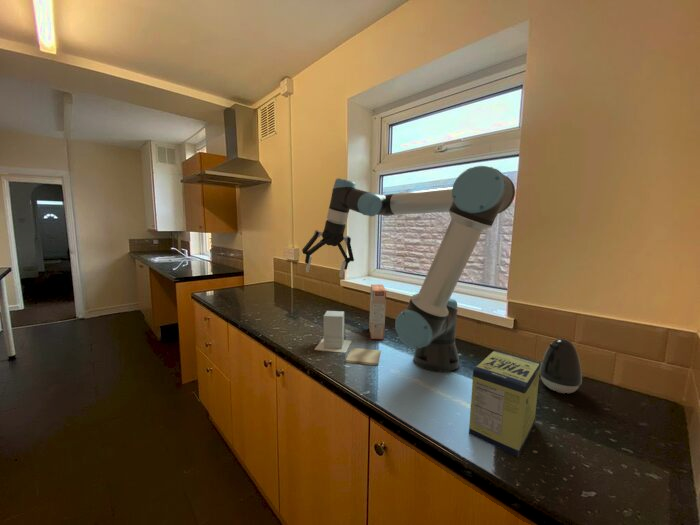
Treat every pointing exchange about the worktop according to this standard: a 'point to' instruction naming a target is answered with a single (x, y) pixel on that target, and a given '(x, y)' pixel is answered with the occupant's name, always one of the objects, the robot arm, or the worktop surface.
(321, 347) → the tile
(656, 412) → the worktop surface
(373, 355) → the oak coaster
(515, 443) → the protein box
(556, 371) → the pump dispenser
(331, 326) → the supplement box
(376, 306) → the cracker box
